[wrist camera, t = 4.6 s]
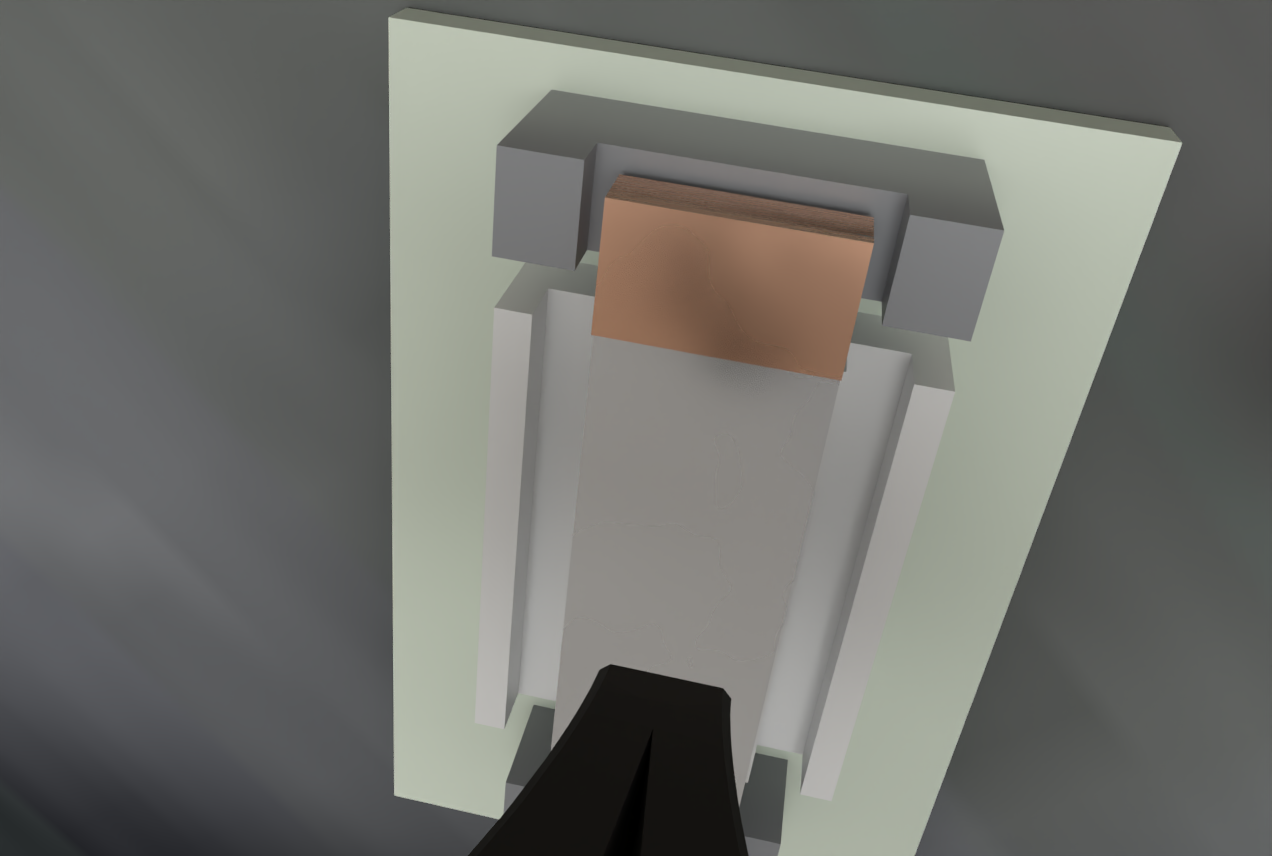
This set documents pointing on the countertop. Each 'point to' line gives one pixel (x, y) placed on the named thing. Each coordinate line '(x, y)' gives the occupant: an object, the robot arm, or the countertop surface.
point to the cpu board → (860, 424)
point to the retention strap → (703, 435)
